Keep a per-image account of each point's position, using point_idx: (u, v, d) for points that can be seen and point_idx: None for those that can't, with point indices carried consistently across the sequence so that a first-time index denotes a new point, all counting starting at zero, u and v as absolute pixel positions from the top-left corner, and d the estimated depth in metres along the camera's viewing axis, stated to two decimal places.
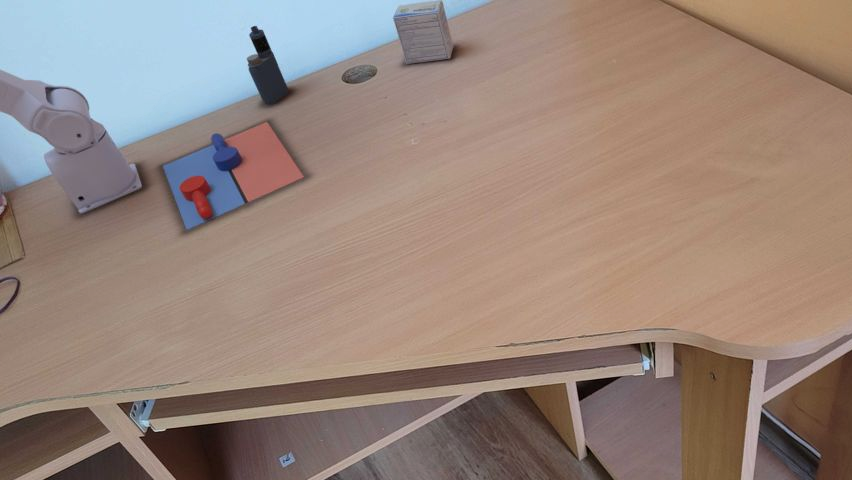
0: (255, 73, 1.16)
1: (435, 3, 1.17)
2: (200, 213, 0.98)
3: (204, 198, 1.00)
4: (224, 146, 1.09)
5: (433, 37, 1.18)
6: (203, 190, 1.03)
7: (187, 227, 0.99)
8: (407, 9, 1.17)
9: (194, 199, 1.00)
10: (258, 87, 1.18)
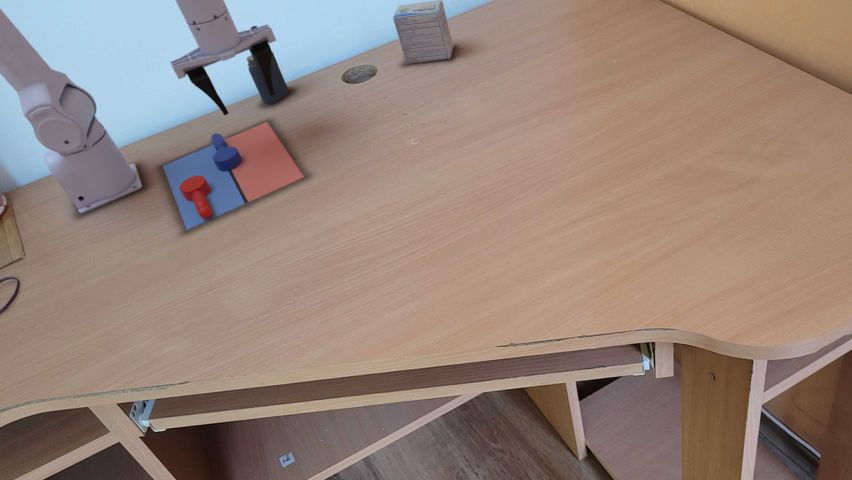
0: (255, 73, 1.16)
1: (435, 3, 1.17)
2: (200, 213, 0.98)
3: (204, 198, 1.00)
4: (224, 146, 1.09)
5: (433, 37, 1.18)
6: (203, 190, 1.03)
7: (187, 227, 0.99)
8: (407, 9, 1.17)
9: (194, 199, 1.00)
10: (258, 87, 1.18)
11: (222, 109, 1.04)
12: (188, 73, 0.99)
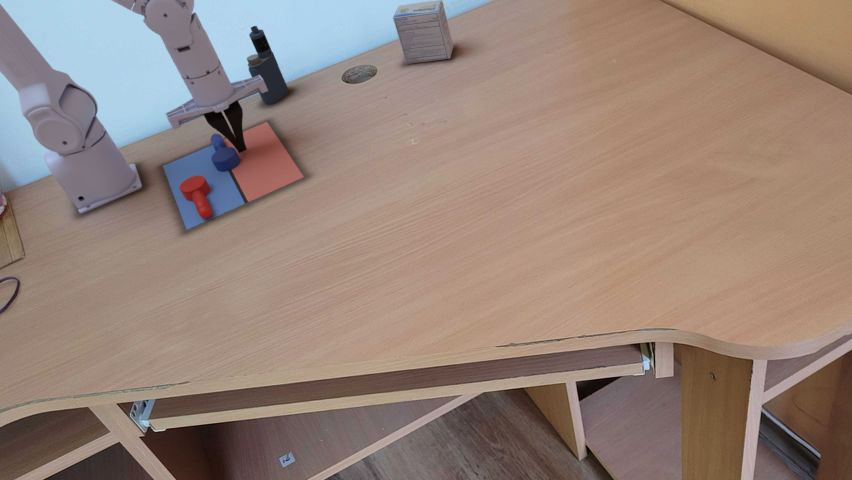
0: (255, 73, 1.16)
1: (435, 3, 1.17)
2: (200, 213, 0.98)
3: (204, 198, 1.00)
4: (223, 146, 1.09)
5: (433, 37, 1.18)
6: (203, 190, 1.03)
7: (187, 227, 0.99)
8: (407, 9, 1.17)
9: (194, 199, 1.00)
10: None
11: (237, 147, 1.08)
12: None
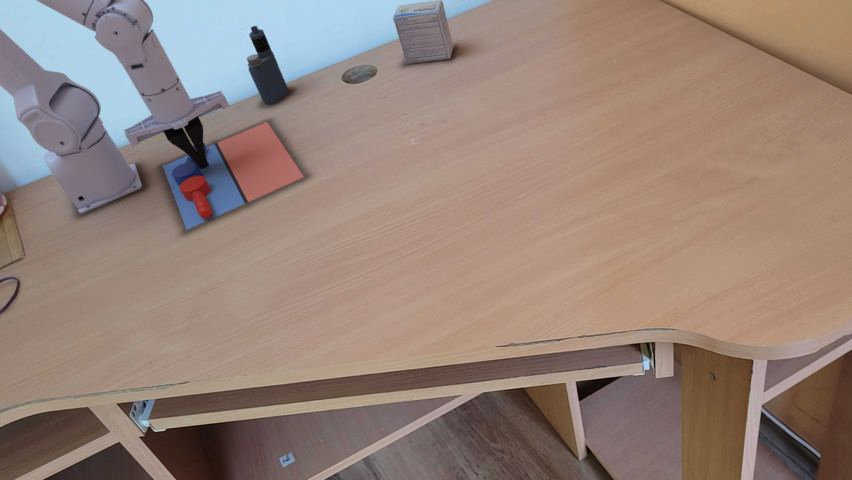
0: (255, 73, 1.16)
1: (435, 3, 1.17)
2: (200, 213, 0.98)
3: (204, 198, 1.00)
4: (192, 159, 1.08)
5: (433, 37, 1.18)
6: (203, 190, 1.03)
7: (187, 227, 0.99)
8: (407, 9, 1.17)
9: (194, 199, 1.00)
10: (258, 87, 1.18)
11: (199, 164, 1.06)
12: None
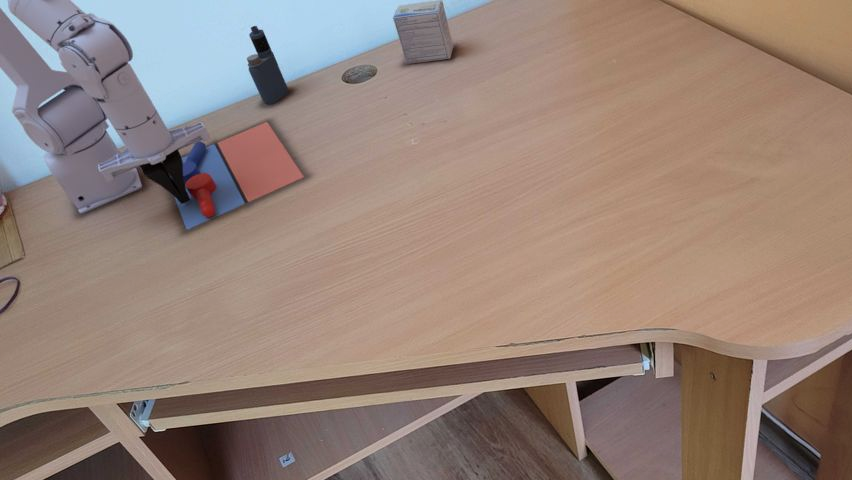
0: (255, 73, 1.16)
1: (435, 3, 1.17)
2: (203, 212, 0.98)
3: (208, 196, 1.00)
4: (191, 160, 1.08)
5: (433, 37, 1.18)
6: (208, 188, 1.03)
7: (187, 227, 0.99)
8: (407, 9, 1.17)
9: (198, 197, 1.01)
10: (258, 87, 1.18)
11: (178, 198, 1.01)
12: (117, 176, 0.95)
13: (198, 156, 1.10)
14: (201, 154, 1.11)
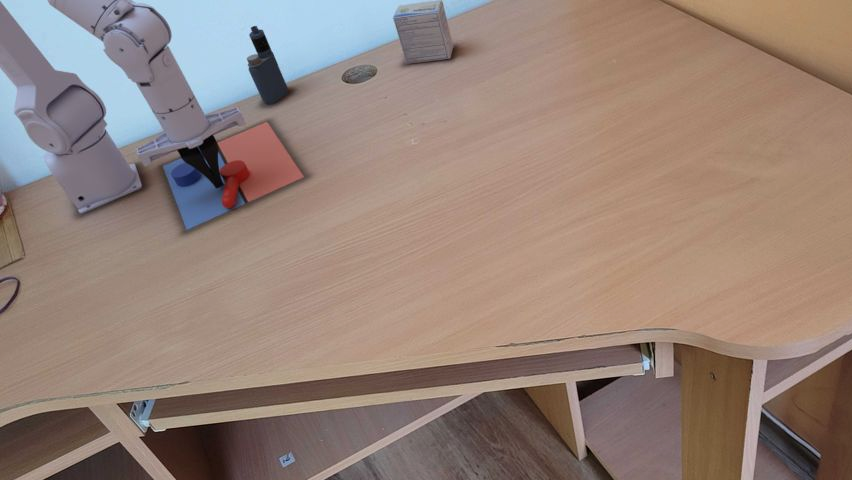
0: (255, 73, 1.16)
1: (435, 3, 1.17)
2: (222, 202, 0.99)
3: (233, 187, 1.01)
4: None
5: (433, 37, 1.18)
6: (239, 177, 1.04)
7: (187, 227, 0.99)
8: (407, 9, 1.17)
9: (225, 185, 1.02)
10: (258, 87, 1.18)
11: (214, 183, 1.02)
12: None
13: None
14: None
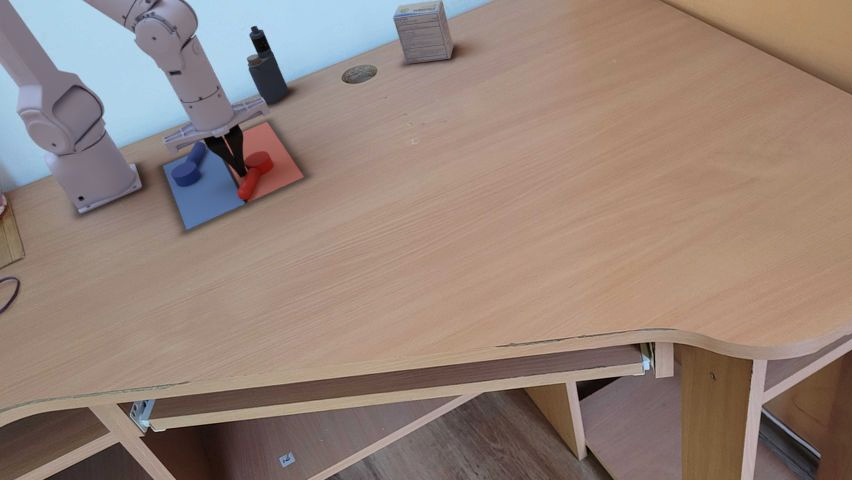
0: (255, 73, 1.16)
1: (435, 3, 1.17)
2: (237, 193, 1.00)
3: (252, 179, 1.02)
4: (191, 160, 1.08)
5: (433, 37, 1.18)
6: (261, 169, 1.04)
7: (187, 227, 0.99)
8: (407, 9, 1.17)
9: (245, 176, 1.02)
10: (258, 87, 1.18)
11: (238, 172, 1.03)
12: None
13: (198, 156, 1.10)
14: (201, 154, 1.11)
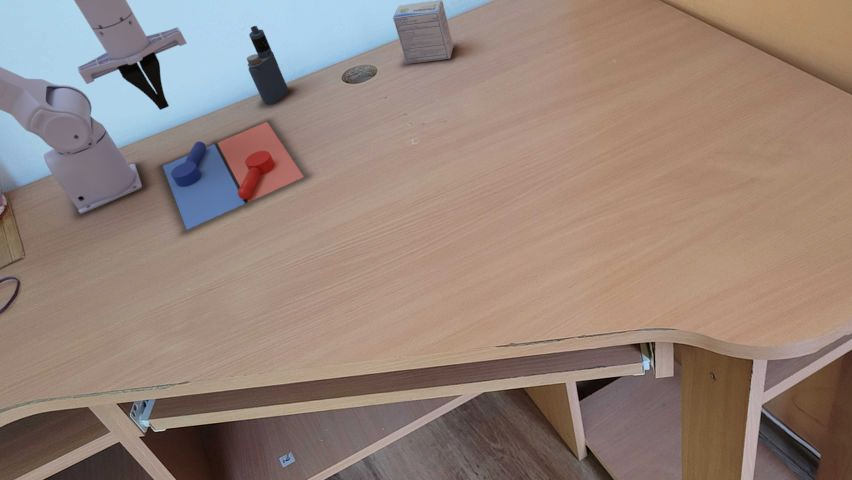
0: (255, 73, 1.16)
1: (435, 3, 1.17)
2: (238, 193, 1.00)
3: (252, 178, 1.02)
4: (191, 160, 1.08)
5: (433, 37, 1.18)
6: (262, 168, 1.04)
7: (187, 227, 0.99)
8: (407, 9, 1.17)
9: None
10: (258, 87, 1.18)
11: (157, 104, 1.04)
12: None
13: (198, 156, 1.10)
14: (201, 154, 1.11)
